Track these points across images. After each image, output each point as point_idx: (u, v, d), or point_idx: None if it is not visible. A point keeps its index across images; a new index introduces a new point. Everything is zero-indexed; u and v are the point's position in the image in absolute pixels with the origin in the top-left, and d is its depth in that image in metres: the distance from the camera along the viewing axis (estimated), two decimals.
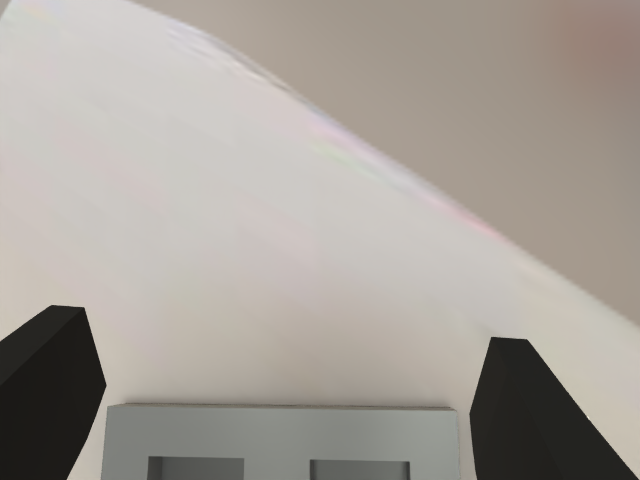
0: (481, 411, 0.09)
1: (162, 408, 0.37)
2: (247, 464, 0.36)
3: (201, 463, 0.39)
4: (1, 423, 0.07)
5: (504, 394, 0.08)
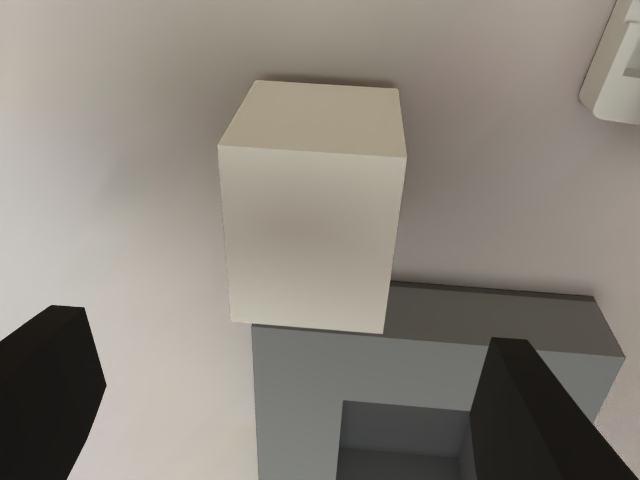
0: (481, 411, 0.09)
1: None
2: None
3: None
4: (1, 423, 0.07)
5: (504, 394, 0.08)
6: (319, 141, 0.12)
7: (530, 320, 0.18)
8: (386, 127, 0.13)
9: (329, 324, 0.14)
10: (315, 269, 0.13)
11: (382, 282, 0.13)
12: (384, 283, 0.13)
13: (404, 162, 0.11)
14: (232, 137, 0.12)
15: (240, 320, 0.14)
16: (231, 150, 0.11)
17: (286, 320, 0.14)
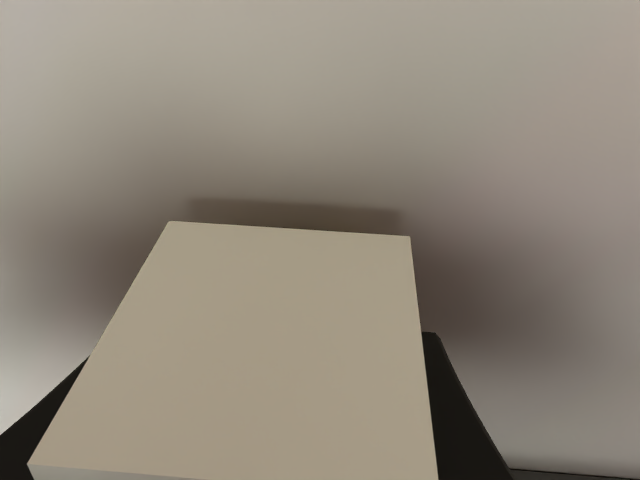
0: None
1: None
2: None
3: None
4: None
5: None
6: (253, 431, 0.06)
7: None
8: (392, 365, 0.06)
9: None
10: None
11: None
12: None
13: None
14: (71, 425, 0.06)
15: None
16: (61, 467, 0.05)
17: None
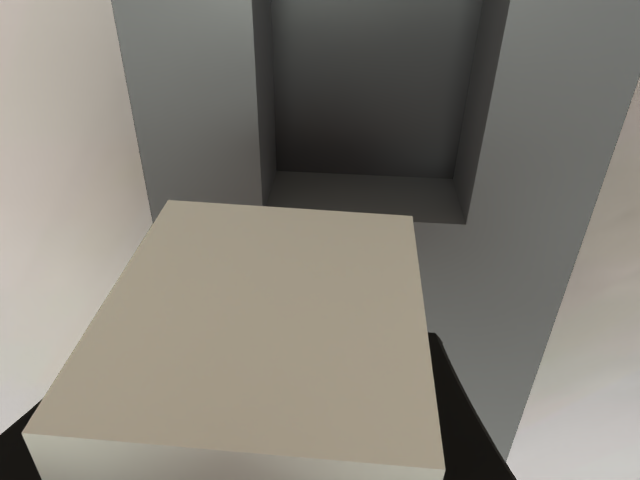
0: None
1: None
2: None
3: None
4: None
5: None
6: (254, 402, 0.05)
7: None
8: (394, 339, 0.06)
9: None
10: None
11: None
12: None
13: (439, 478, 0.05)
14: (67, 396, 0.05)
15: None
16: (56, 438, 0.05)
17: None
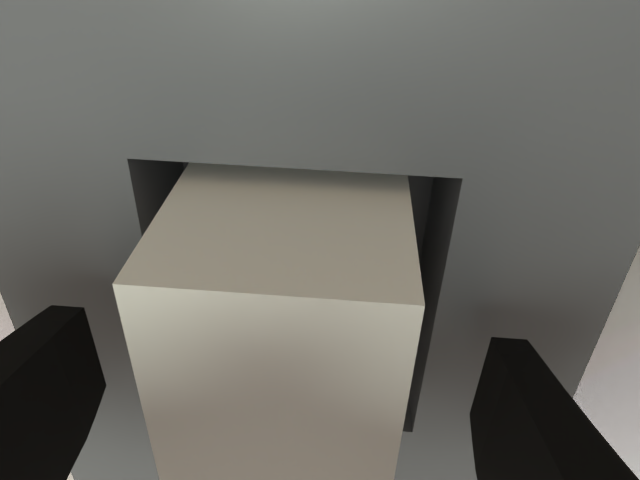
0: (481, 411, 0.09)
1: None
2: (148, 147, 0.09)
3: None
4: (1, 423, 0.07)
5: (504, 394, 0.08)
6: (282, 267, 0.07)
7: None
8: (389, 232, 0.08)
9: None
10: (282, 444, 0.09)
11: (386, 462, 0.09)
12: (388, 464, 0.09)
13: (420, 312, 0.07)
14: (141, 264, 0.07)
15: None
16: (137, 290, 0.07)
17: None
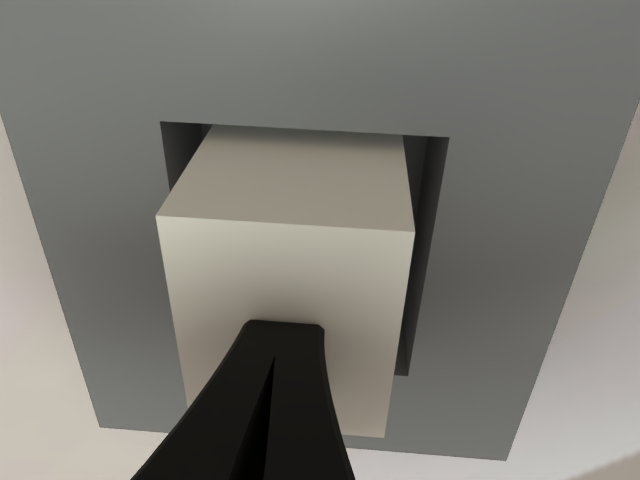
0: None
1: (73, 330, 0.14)
2: (178, 111, 0.10)
3: None
4: (253, 444, 0.07)
5: None
6: (295, 205, 0.09)
7: None
8: (386, 180, 0.10)
9: None
10: None
11: (383, 381, 0.10)
12: (385, 382, 0.10)
13: (411, 238, 0.08)
14: (178, 202, 0.09)
15: None
16: (175, 221, 0.08)
17: None
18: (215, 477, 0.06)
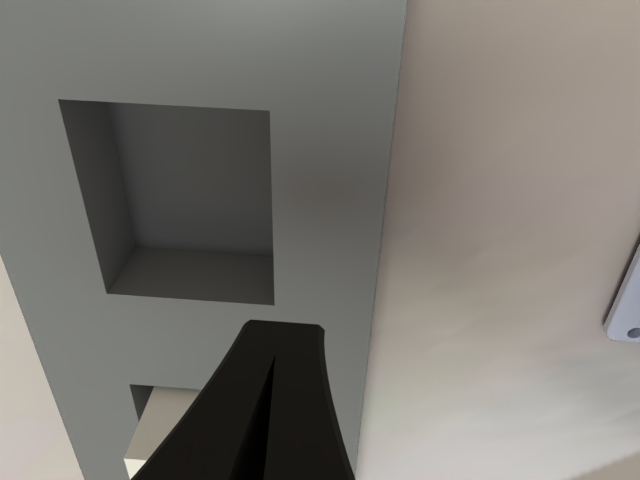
0: None
1: (82, 468, 0.24)
2: (138, 380, 0.20)
3: None
4: (253, 444, 0.07)
5: None
6: None
7: None
8: None
9: None
10: None
11: None
12: None
13: None
14: (135, 447, 0.18)
15: None
16: (133, 459, 0.18)
17: None
18: (215, 477, 0.06)
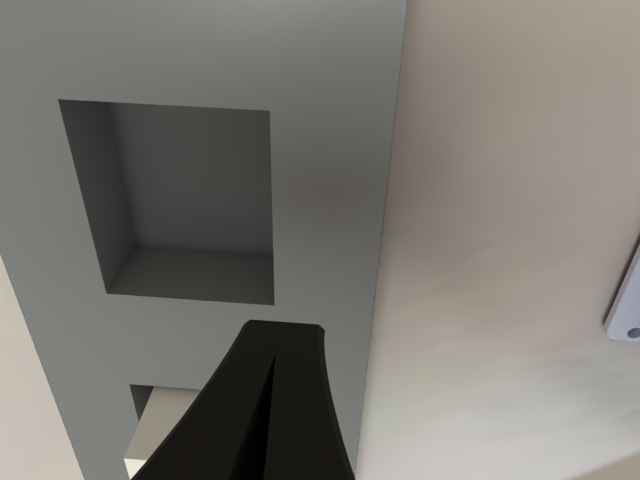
0: None
1: (82, 468, 0.24)
2: (138, 380, 0.20)
3: None
4: (253, 444, 0.07)
5: None
6: None
7: None
8: None
9: None
10: None
11: None
12: None
13: None
14: (135, 447, 0.18)
15: None
16: (133, 459, 0.18)
17: None
18: (215, 477, 0.06)
